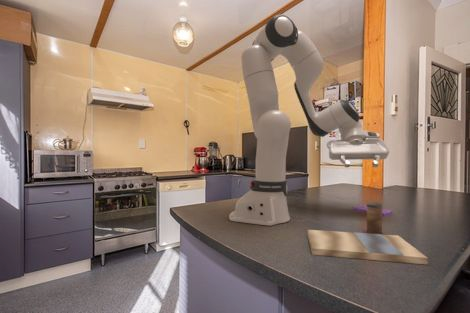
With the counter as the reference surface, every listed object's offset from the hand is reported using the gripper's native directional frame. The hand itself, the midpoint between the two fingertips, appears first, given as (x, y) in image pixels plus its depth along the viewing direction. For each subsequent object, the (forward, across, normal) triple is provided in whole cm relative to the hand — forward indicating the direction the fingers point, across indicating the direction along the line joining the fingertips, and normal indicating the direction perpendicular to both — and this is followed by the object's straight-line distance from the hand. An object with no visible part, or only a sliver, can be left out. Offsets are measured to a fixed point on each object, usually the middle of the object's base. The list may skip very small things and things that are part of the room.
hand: (361, 166), depth 84 cm
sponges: (+5, +8, +24) cm, 26 cm away
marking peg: (+23, 0, +4) cm, 24 cm away
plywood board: (+32, -9, -5) cm, 34 cm away
